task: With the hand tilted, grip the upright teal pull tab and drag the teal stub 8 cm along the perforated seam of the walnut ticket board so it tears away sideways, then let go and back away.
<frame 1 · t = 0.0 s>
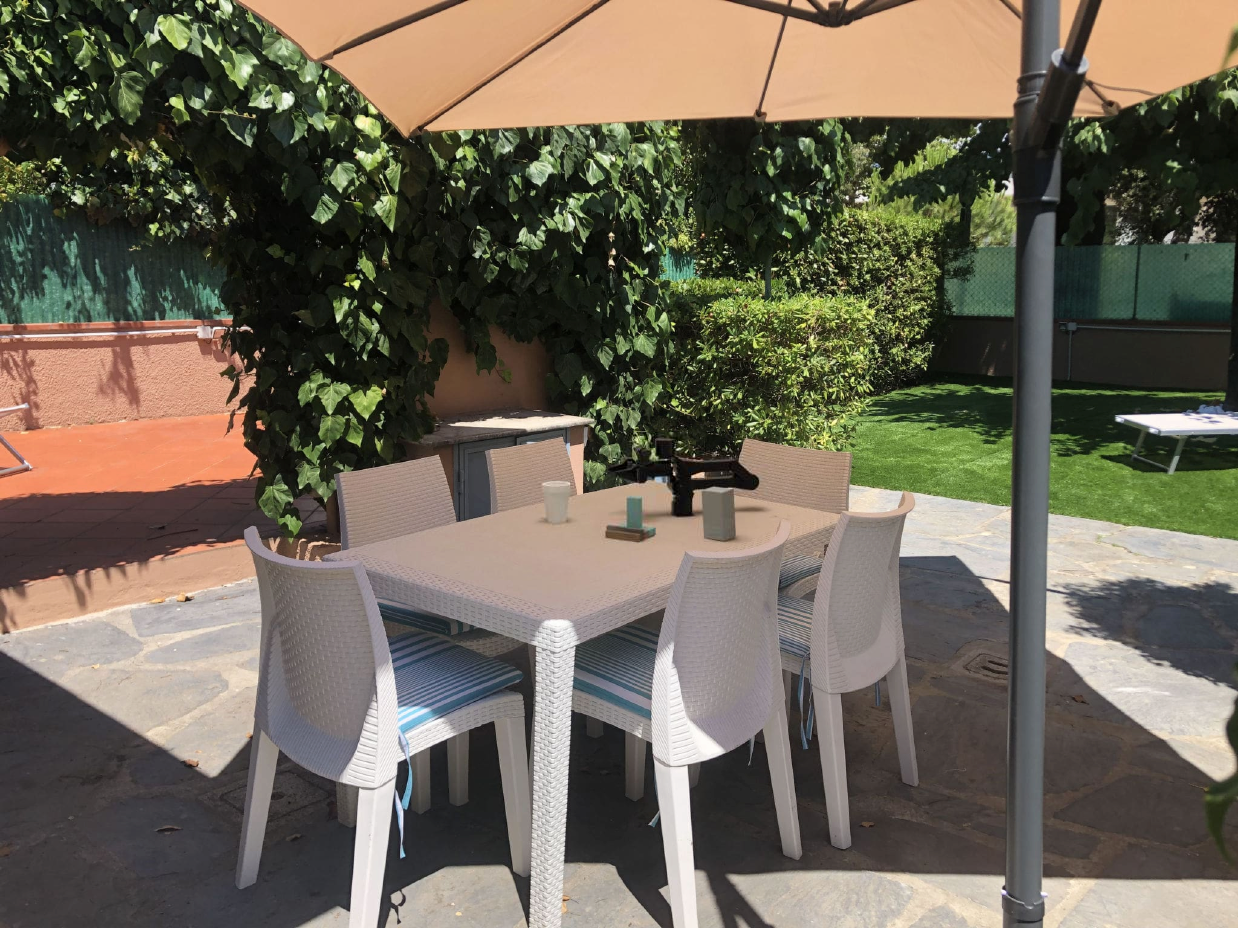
hand: (611, 471, 333), 17 cm above the table, tool horizontal, fingers open, 9 cm apart
foam cup: (556, 522, 333), on the table
stub: (635, 515, 313), point 6 cm above the table, slide at 0.0 cm
ticket board: (632, 535, 312), on the table
skincare box: (718, 538, 308), on the table
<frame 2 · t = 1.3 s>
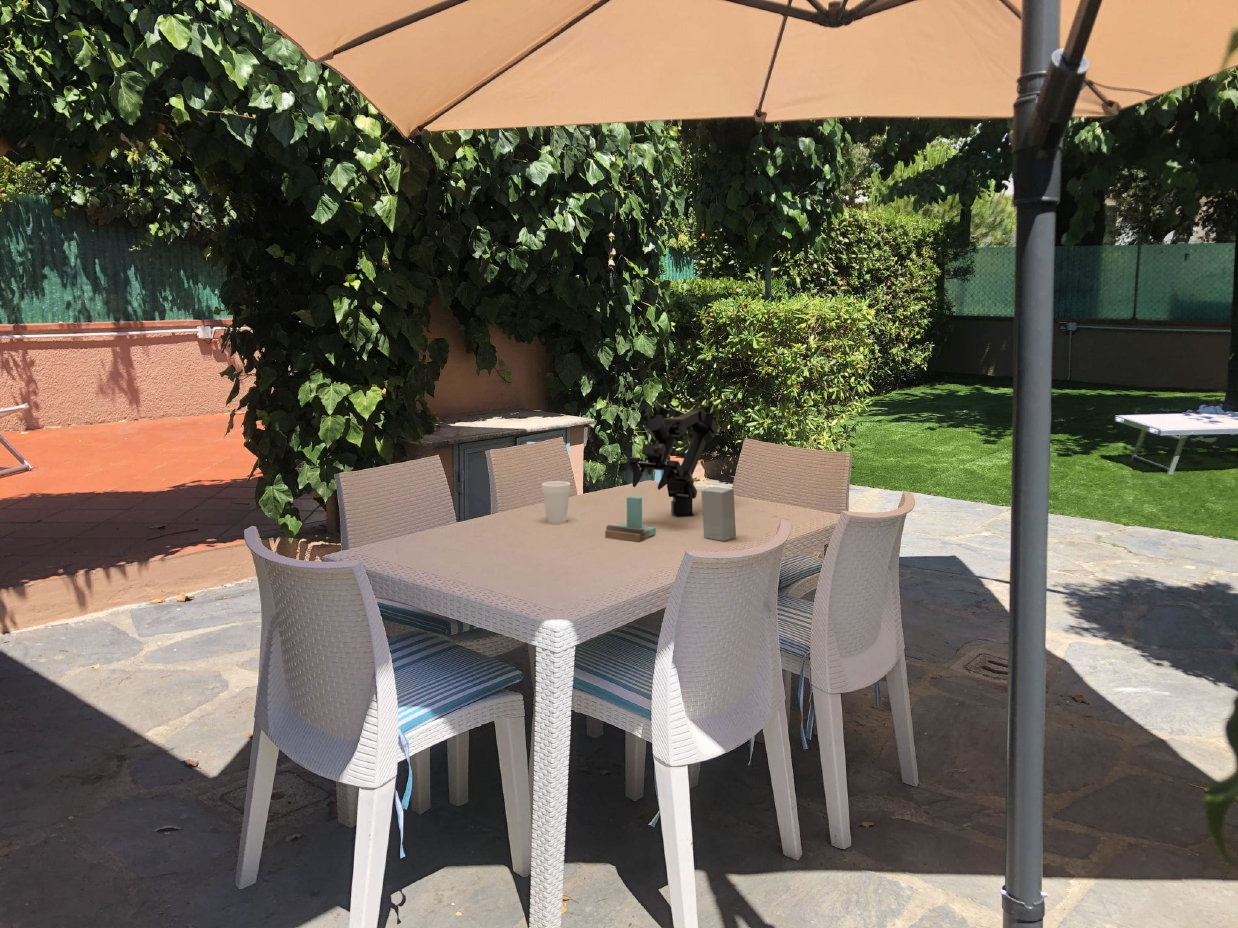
hand: (645, 487, 318), 14 cm above the table, tool tilted 45°, fingers open, 9 cm apart
nothing on the table moved.
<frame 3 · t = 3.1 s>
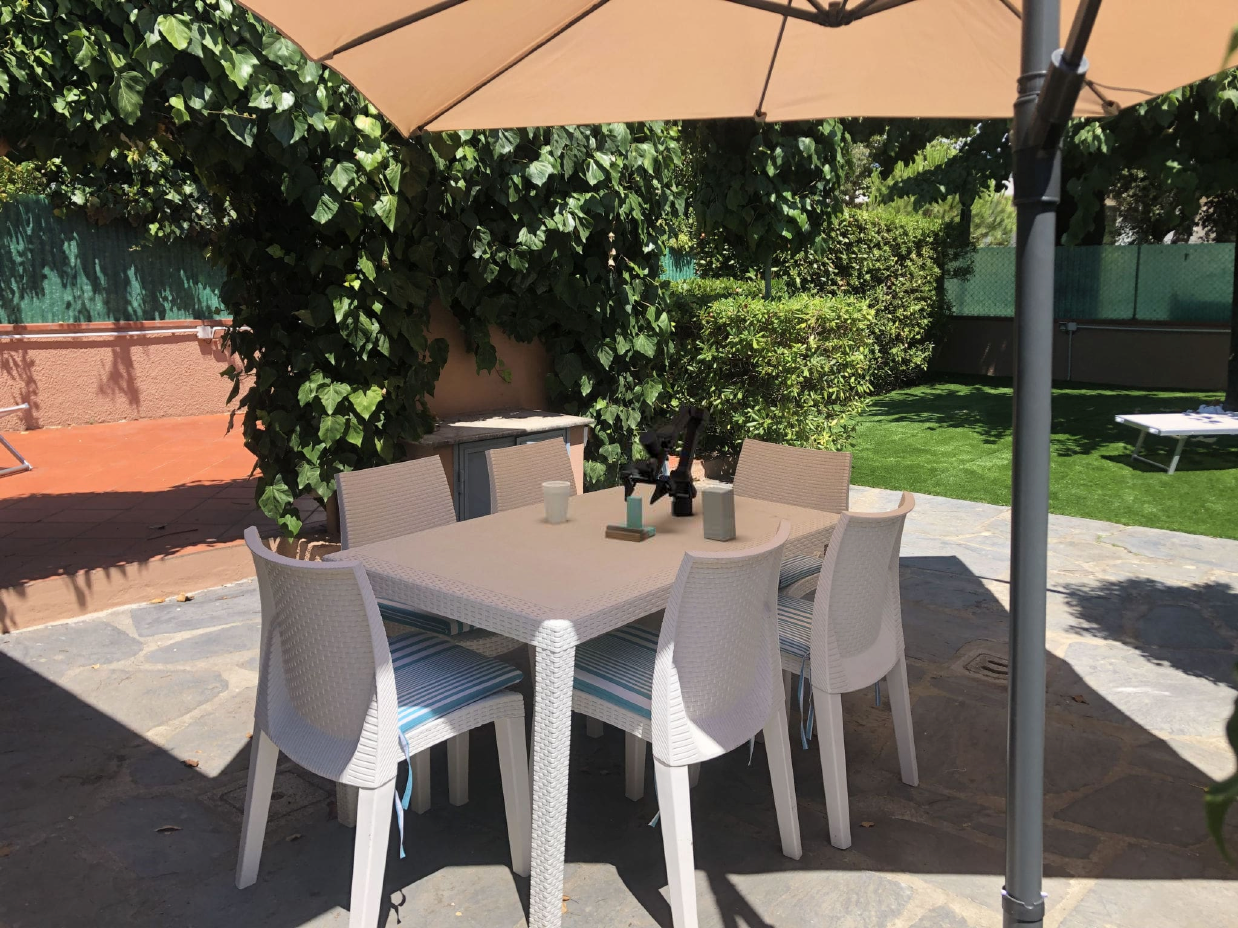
hand: (637, 502, 314), 10 cm above the table, tool tilted 45°, fingers open, 9 cm apart
nothing on the table moved.
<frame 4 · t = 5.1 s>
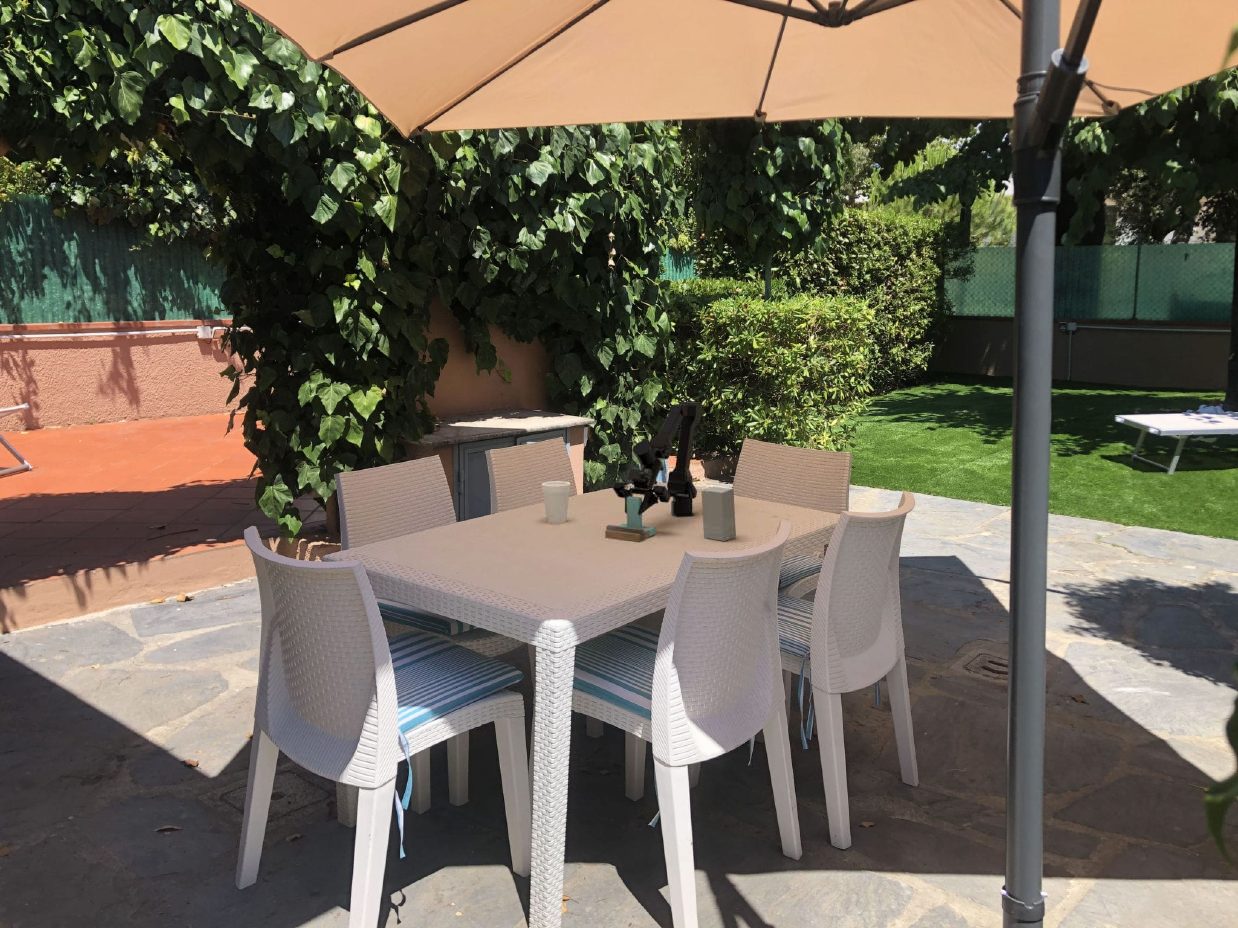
hand: (632, 513, 311), 7 cm above the table, tool tilted 45°, fingers closed on stub, 4 cm apart
stub: (635, 515, 313), point 6 cm above the table, slide at 0.0 cm, touching gripper
everything else where it was.
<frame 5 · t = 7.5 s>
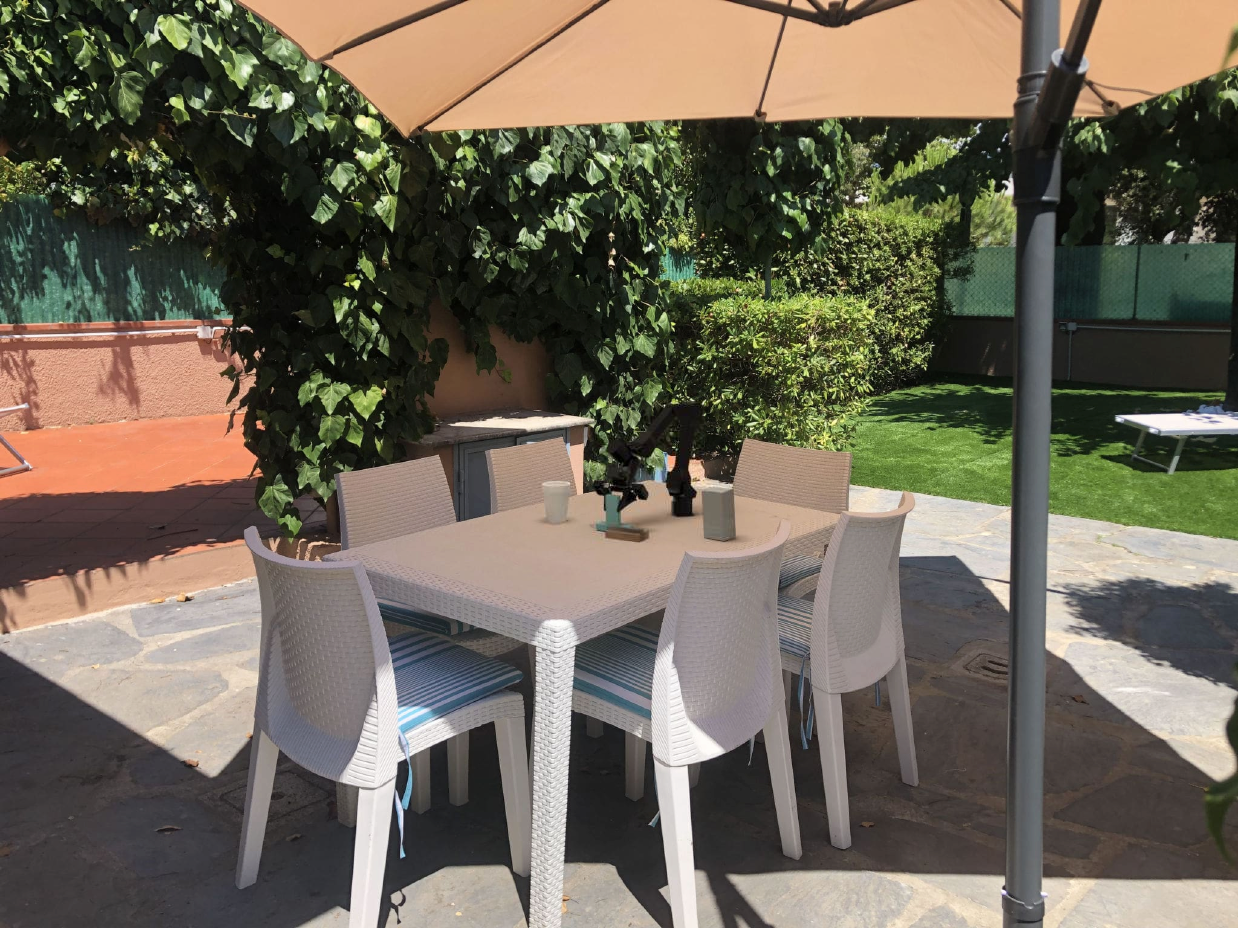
hand: (610, 511, 315), 7 cm above the table, tool tilted 45°, fingers closed on stub, 4 cm apart
stub: (614, 512, 317), point 6 cm above the table, slide at 7.8 cm, touching gripper
everything else where it was.
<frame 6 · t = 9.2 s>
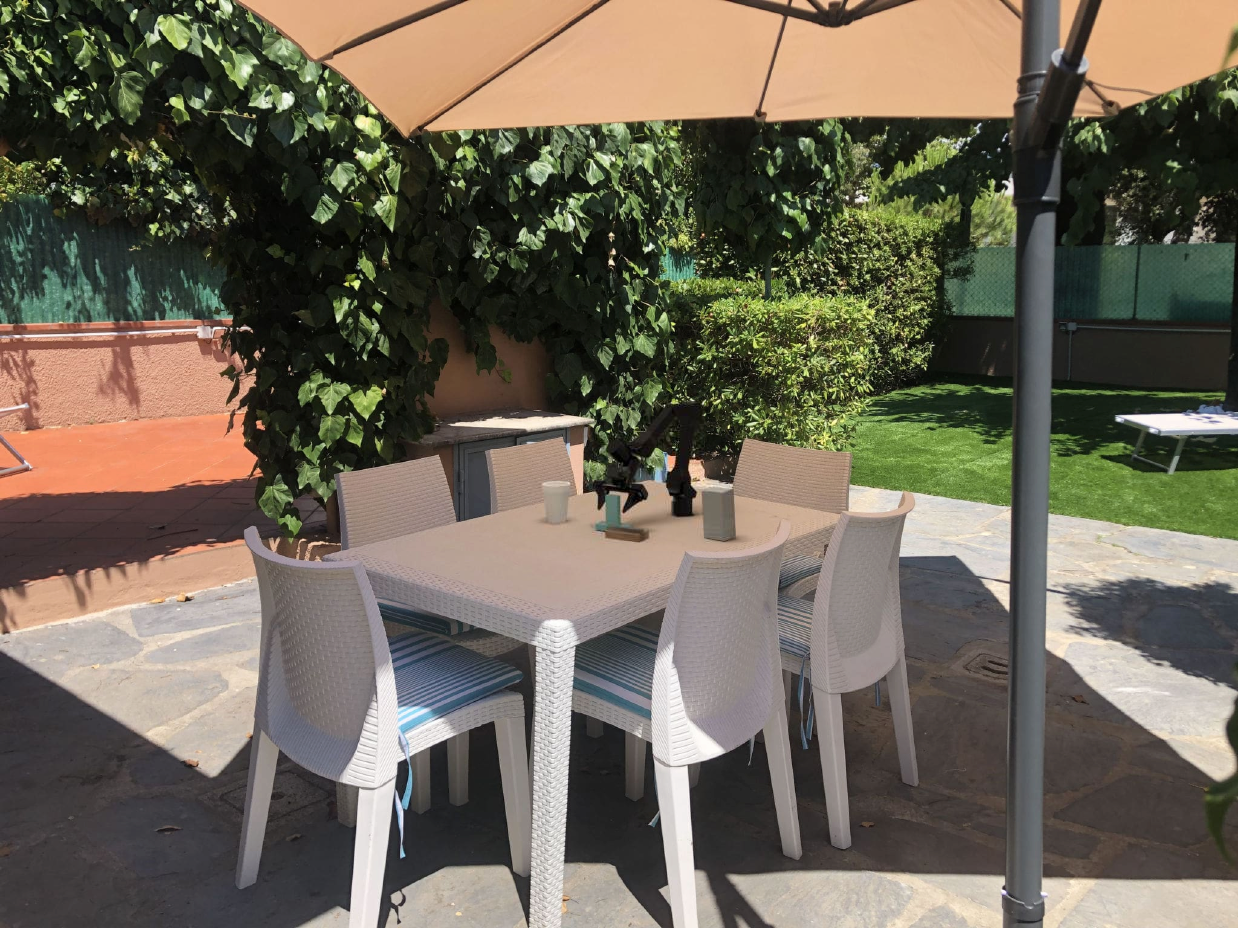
hand: (610, 511, 315), 7 cm above the table, tool tilted 45°, fingers open, 9 cm apart
stub: (614, 512, 317), point 6 cm above the table, slide at 7.9 cm
everything else where it was.
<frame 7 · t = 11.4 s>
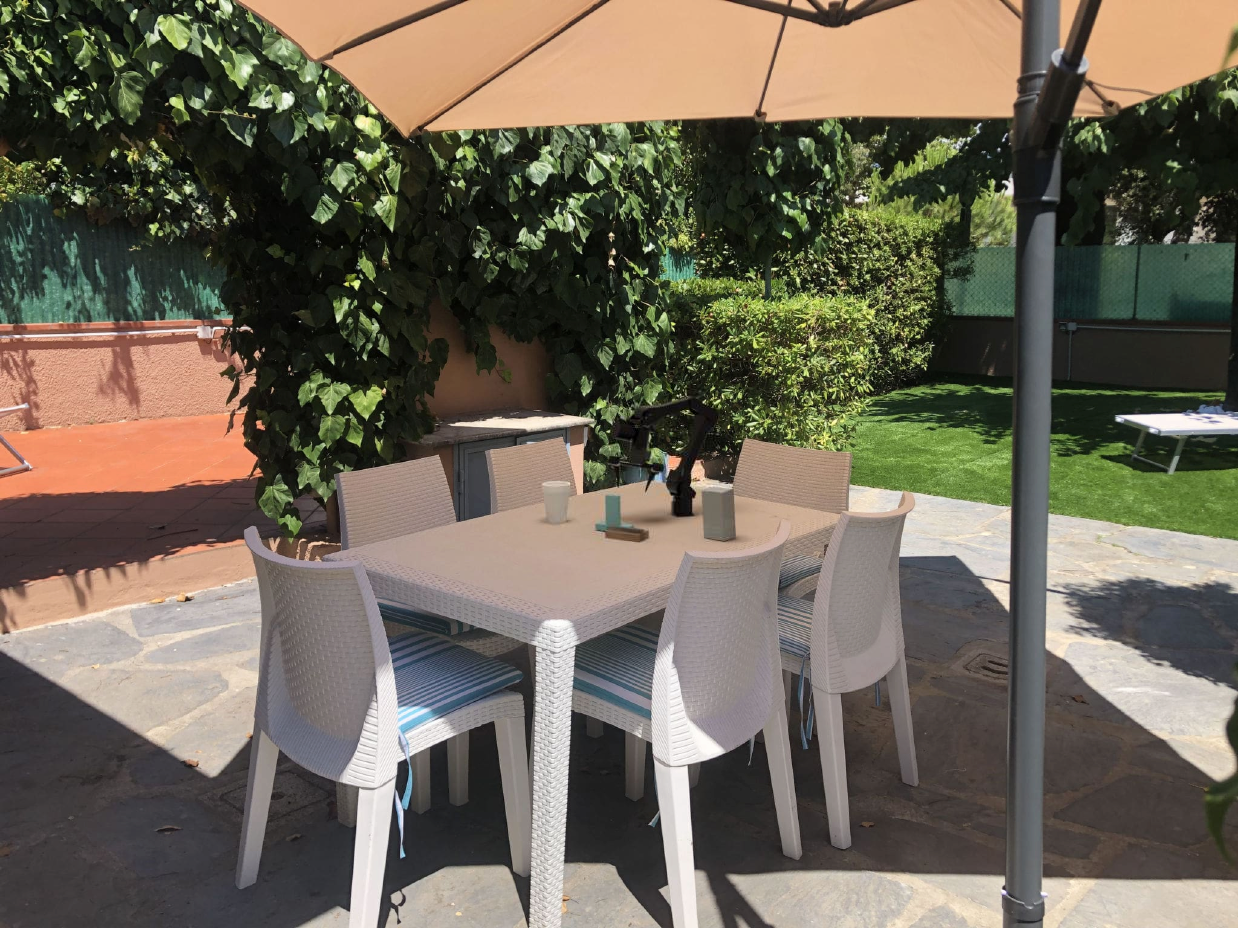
hand: (631, 489, 328), 11 cm above the table, tool tilted 15°, fingers open, 9 cm apart
nothing on the table moved.
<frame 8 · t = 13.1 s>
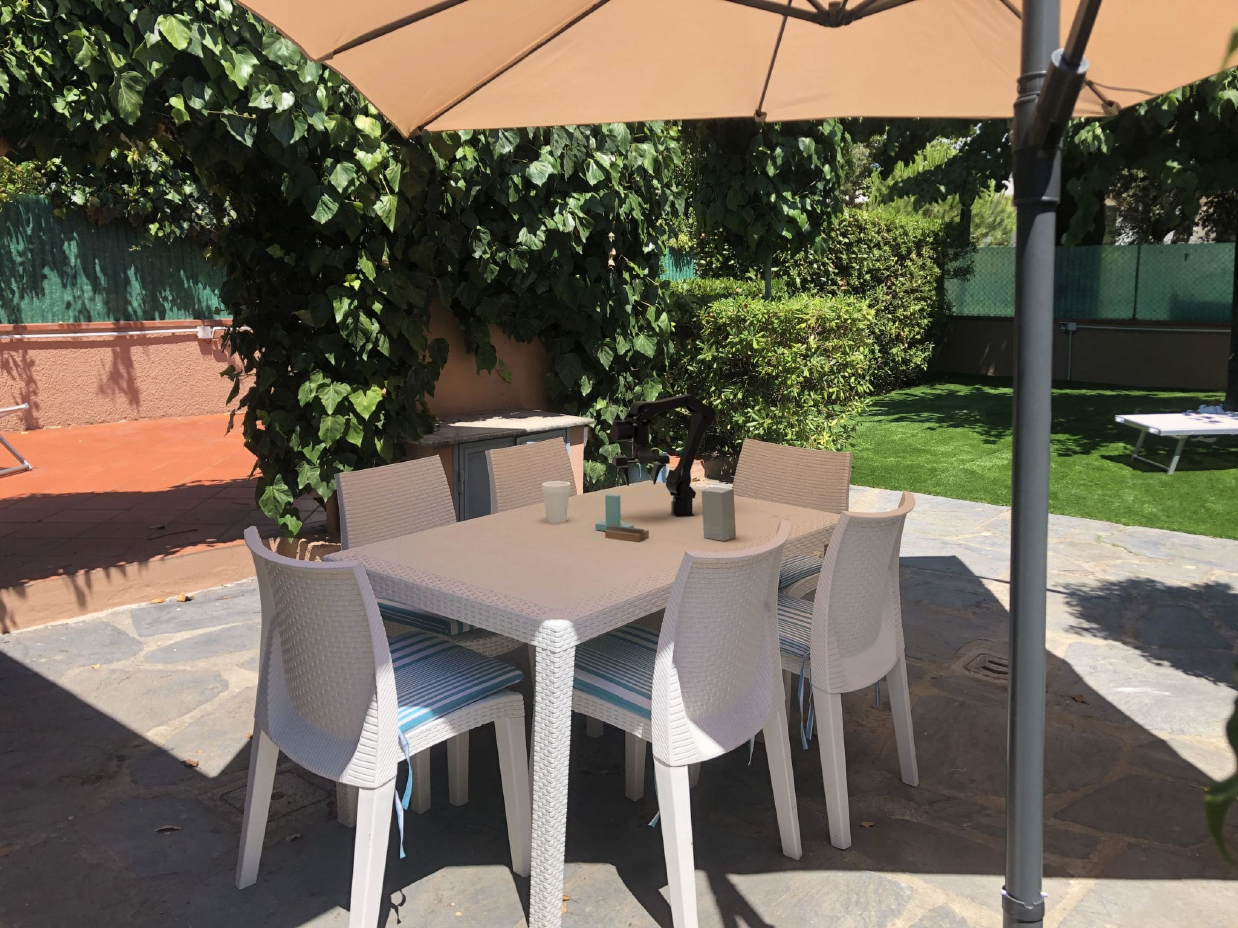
hand: (641, 485, 332), 12 cm above the table, tool pointing down, fingers open, 9 cm apart
nothing on the table moved.
at the end: stub slide at 7.9 cm; the gripper is holding nothing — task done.
